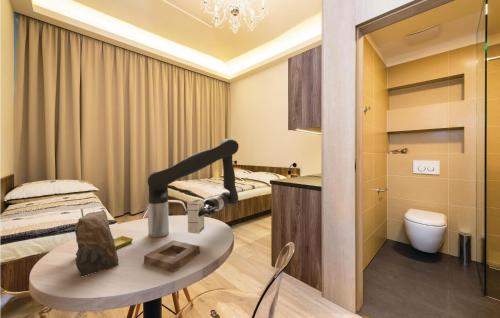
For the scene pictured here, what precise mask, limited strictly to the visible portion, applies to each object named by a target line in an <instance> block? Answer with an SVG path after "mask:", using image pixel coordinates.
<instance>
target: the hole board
mask: <svg viewBox="0 0 500 318" xmlns="http://www.w3.org/2000/svg"><path fill="white" fill-rule="evenodd" d="M200 249H201V247H200V245H195V244H190V243H188V242H183V241H179V240H174V239H173V240H170V241H169V242H166V243H165V244H163V245H162V246H159V247H158V248H156V249H153V250H152V251H150V252H148V253H146V254H144V255H143V263H144V264H147V265H149V266H153V267H155V268H158V269H162V270H164V271H168V272H171V273H174V272H175V271H177V270H179V268H181V267H182V266H184V265H185V264H186V263H188V262H190V261H191V260H193V259H194V258H195V257H197V256H198V255H200V253H201V250H200ZM171 253H177V254H176V255H174V256H173V257H172V256H169V255H170V254H171Z"/></svg>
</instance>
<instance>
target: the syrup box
mask: <svg viewBox="0 0 500 318" xmlns="http://www.w3.org/2000/svg"><path fill="white" fill-rule="evenodd" d="M204 202H205V201H204V199H198V198H196V199H191V200H189V201H187V209H188V214H187V233H188V234H189V233H190V234H197V235H198V234H200V233H201V232H202V231H204V230H205V215H203V216H201V217H199V216H198V212H199V211H202V210H204Z"/></svg>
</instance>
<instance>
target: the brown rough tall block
mask: <svg viewBox="0 0 500 318" xmlns="http://www.w3.org/2000/svg"><path fill="white" fill-rule="evenodd" d="M107 215H108V214H107V212H106V210H105V209H102V210H100V211H95V212H94V211H93V212H88V213H86V214H85V215H84V216H83V217H82V216H81V217H80V218H78V219H77V220H78V221H79V224H78V226H77V230H76V234H75V238H76V244H77V248H78V249H77V251H76V253H75V255H76V258H75V260H74V261H75V266H76V268H77V270H78V271H79V273H80V277H81V276H84V277H86V276H85V275H87V276H89V275H88V274H90V275H92V274H91V273H93V274H95V273H94V272H97V273H99V272H101V271H100V270H102V271H104V269H105V270H109V269H112V268H114V267H117V266H119V256H118V254H117V248H116V247H115V244H114V239H115V238H114V237H113V235H112V231H111V228H110V223H109V218H108V216H107ZM78 221H77V222H78ZM111 267H112V268H111ZM98 271H99V272H98Z"/></svg>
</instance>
